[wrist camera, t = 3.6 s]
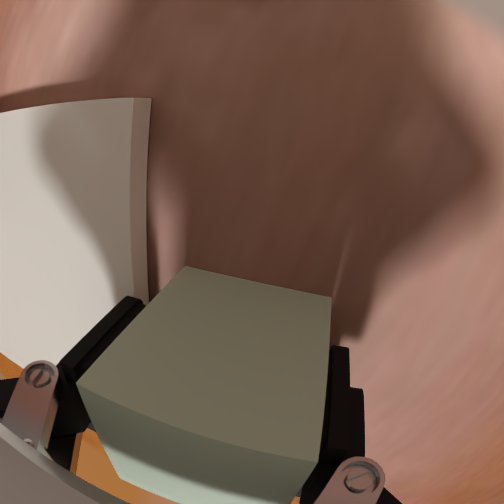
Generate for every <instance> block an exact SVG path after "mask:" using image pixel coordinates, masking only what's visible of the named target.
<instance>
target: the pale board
mask: <svg viewBox="0 0 504 504" xmlns="http://www.w3.org/2000/svg"><path fill="white" fill-rule="evenodd" d="M151 99H152V98H136V97H131V98H110V99H96V100H84V101H74V102H65V103H57V104H49V105H42V106H36V107H30V108H24V109H18V110H13V111H8V112H3V113H0V352H1V353H2V354H4V355H5V356H6V357H8V358H9V359H10V360H12V361H13V362H15V363H16V364H17V365H19V366H20V367H22V368H23V369H24V368H25V367H26V366H27V365H28V364H30V363H32V362H34V361H38V360H46V361H49V362H51V363H53V364H54V365H55V366H56V365H57V364H58V363H59V361H60V360H61V359H62V358H63V357H64V356H65V355H66V354H67V353H68V352H69V351H70V350H71V349H72V348H73V347H74V346H75V345H76V344H77V343H78V342H79V341H80V340H81V339H82V338H83V337H84V336H85V335H86V334H87V333H88V332H89V331H90V330H91V329H92V328H93V327H94V326H95V325H96V324H97V323H98V322H99V321H100V320H101V319H102V318H103V317H104V316H105V315H106V314H107V313H108V312H109V311H111V310H112V309H113V308H114V307H115V306H116V305H117V304H118V303H119V302H120V301H121V300H122V299H123V298H124V297H125V296H131V297H135V298H138V299H141V300H142V301H143V304H144V305H146V306H147V305H148V304H149V291H148V271H147V238H146V191H147V158H148V139H149V123H150V111H151Z"/></svg>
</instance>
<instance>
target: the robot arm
mask: <svg viewBox="0 0 504 504" xmlns="http://www.w3.org/2000/svg"><path fill="white" fill-rule="evenodd" d="M145 307H146V305H144V304H143V301H142V300H141V299H138V298H135V297H131V296H125V297H124V298H123V299H122V300H121V301H120V302H119V303H118V304H117V305H116V306H115V307H114V308H113V309H112V310H111V311H109V312H108V313H107V314H106V315H105V316H104V317H103V318H102V319H101V320H100V321H99V322H98V323H97V324H96V325H95V326H94V327H93V328H92V329H91V330H90V331H89V332H88V333H87V334H86V335H85V336H84V337H83V338H82V339H81V340H80V341H79V342H78V343H77V344H76V345H75V346H74V347H73V348H72V349H71V350H70V351H69V352H68V353H67V354H66V355H65V356H64V357H63V358H62V359H61V360H60V361H59V363H58V364H57V365H56V366H55V365H54V364H53V363H51V362H49V361H46V360H38V361H34V362H32V363H30V364H28V365H27V366H26V367H25V368H24V369H23V371H22V373H21V375H20V377H19V378H12V379H4V380H0V504H130V503H128V502H125V501H123V500H121V499H119V498H117V497H115V496H113V495H111V494H109V493H107V492H105V491H103V490H101V489H99V488H97V487H96V486H94V485H92V484H90V483H88V482H87V481H85V480H83V479H81V478H80V477H78V476H76V470H77V462H78V457H79V451H80V445H81V439H82V434H83V432H84V431H85V430H86V428H89V429H91V430H93V431H95V432H96V430H95V428H94V426H93V424H92V422H91V419H90V417H89V415H88V412H87V410H86V408H85V405H84V403H83V400H82V398H81V395H80V393H79V390H78V388H77V385H76V382H77V381H78V380H79V379H80V378H81V377H82V375H83V374H84V373H85V372H86V371H87V370H88V369H89V368H90V366H91V365H92V364H93V363H94V362H95V361H96V360H97V359H98V358H99V356H100V355H101V354H102V353H103V352H104V351H105V350H106V349H107V348H108V347H109V346H110V344H111V343H112V342H113V341H114V340H115V339H116V338H117V337H118V336H119V335H120V334H121V332H122V331H123V330H124V329H125V328H126V327H127V326H128V325H129V324H130V323H131V322H132V321H133V320H134V319H135V317H136V316H137V315H138V314H139V313H140V312H141V311H142V310H143V309H144V308H145ZM384 484H385V473H384V471H383V469H382V467H381V466H380V465H379V464H378V463H377V462H375V461H374V460H372V459H370V458H366V457H365V421H364V394H363V390H362V389H359V388H352V387H350V362H349V348H347V347H341V346H336V345H332V347H331V349H329V359H328V373H327V385H326V397H325V407H324V417H323V426H322V435H321V443H320V451H319V458H318V463H317V464H316V466H315V468H314V469H313V471H312V472H311V474H310V475H309V477H308V478H307V480H306V482H305V483H304V484H303V486H302V487H301V489H300V490H299V492H298V493H297V495H296V496H298V497H300V502H299V503H300V504H402V503H401V502H400V501H399V500H397V499H396V498H395V497H394V496H393V495H392V494H391V493H390V492H389V491H387V490H386V489H385V488H384Z"/></svg>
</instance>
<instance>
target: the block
mask: <svg viewBox="0 0 504 504" xmlns="http://www.w3.org/2000/svg"><path fill="white" fill-rule="evenodd" d="M331 298H332V297H327V296H322V295H317V294H312V293H307V292H303V291H298V290H293V289H288V288H283V287H279V286H274V285H269V284H265V283H260V282H255V281H251V280H246V279H241V278H237V277H232V276H228V275H223V274H219V273H214V272H210V271H206V270H201V269H197V268H192V267H188V266H184V267H183V268H182V269H181V270H180V271H179V272H178V274H177V275H176V276H175V277H174V278H173V279H172V280H171V281H170V282H169V283H168V284H167V285H166V286H165V287H164V288H163V289H162V290H161V291H160V292H159V293H158V294H157V295H156V296H155V297H154V298H153V299H152V301H151V302H150V303H149V304H148V305H147V306H146V307H145V308H144V309H143V310H142V311H141V312H140V313H139V314H138V315H137V316H136V317H135V319H134V320H133V321H132V322H131V323H130V324H129V325H128V326H127V327H126V328H125V329H124V330H123V331H122V332H121V334H120V335H119V336H118V337H117V338H116V339H115V340H114V341H113V342H112V343H111V344H110V346H109V347H108V348H107V349H106V350H105V351H104V352H103V353H102V354H101V355H100V356H99V358H98V359H97V360H96V361H95V362H94V363H93V364H92V365H91V366H90V368H89V369H88V370H87V371H86V372H85V373H84V374H83V375H82V377H81V378H80V379H79V380H78V381H77V382H76V385H77V388H78V390H79V393H80V395H81V398H82V400H83V403H84V405H85V408H86V410H87V412H88V415H89V417H90V419H91V422H92V424H93V426H94V428H95V430H96V433H97V435H98V437H99V439H100V441H101V443H102V445H103V447H104V449H105V451H106V453H107V455H108V457H109V459H110V460H111V462H112V464H113V467H114V468H115V470H116V472H117V474H118V476H119V477H120V478H121V479H123V480H125V481H127V482H129V483H131V484H133V485H136V486H138V487H140V488H142V489H145V490H147V491H149V492H152V493H154V494H157V495H159V496H162V497H165V498H167V499H170V500H173V501H175V502H178V503H181V504H290V503H291V502H292V500H293V499H294V498H295V496H296V495H297V493H298V492H299V490H300V489H301V487H302V486H303V484H304V483H305V482H306V480H307V478H308V477H309V475H310V474H311V472H312V471H313V469H314V468H315V466H316V464H317V463H318V458H319V451H320V443H321V435H322V426H323V417H324V407H325V397H326V385H327V373H328V359H329V343H330V324H331Z"/></svg>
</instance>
